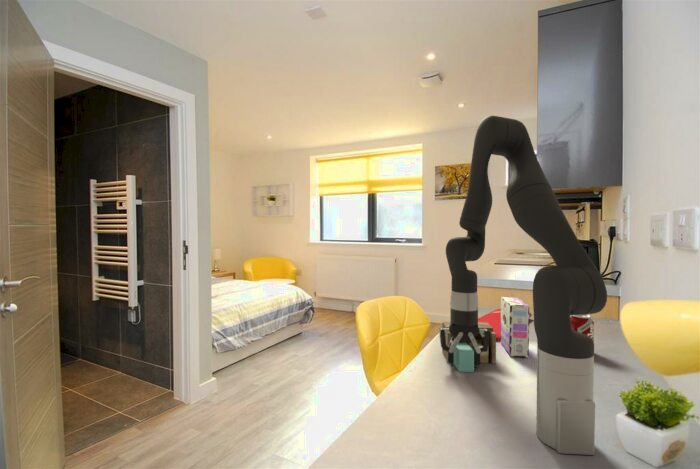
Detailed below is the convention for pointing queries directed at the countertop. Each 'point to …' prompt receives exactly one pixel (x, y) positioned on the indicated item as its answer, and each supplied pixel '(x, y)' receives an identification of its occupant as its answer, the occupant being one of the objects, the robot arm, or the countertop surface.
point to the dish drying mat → (494, 321)
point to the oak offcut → (482, 353)
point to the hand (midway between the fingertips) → (463, 364)
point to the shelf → (481, 326)
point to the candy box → (515, 327)
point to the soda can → (583, 324)
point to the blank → (464, 357)
